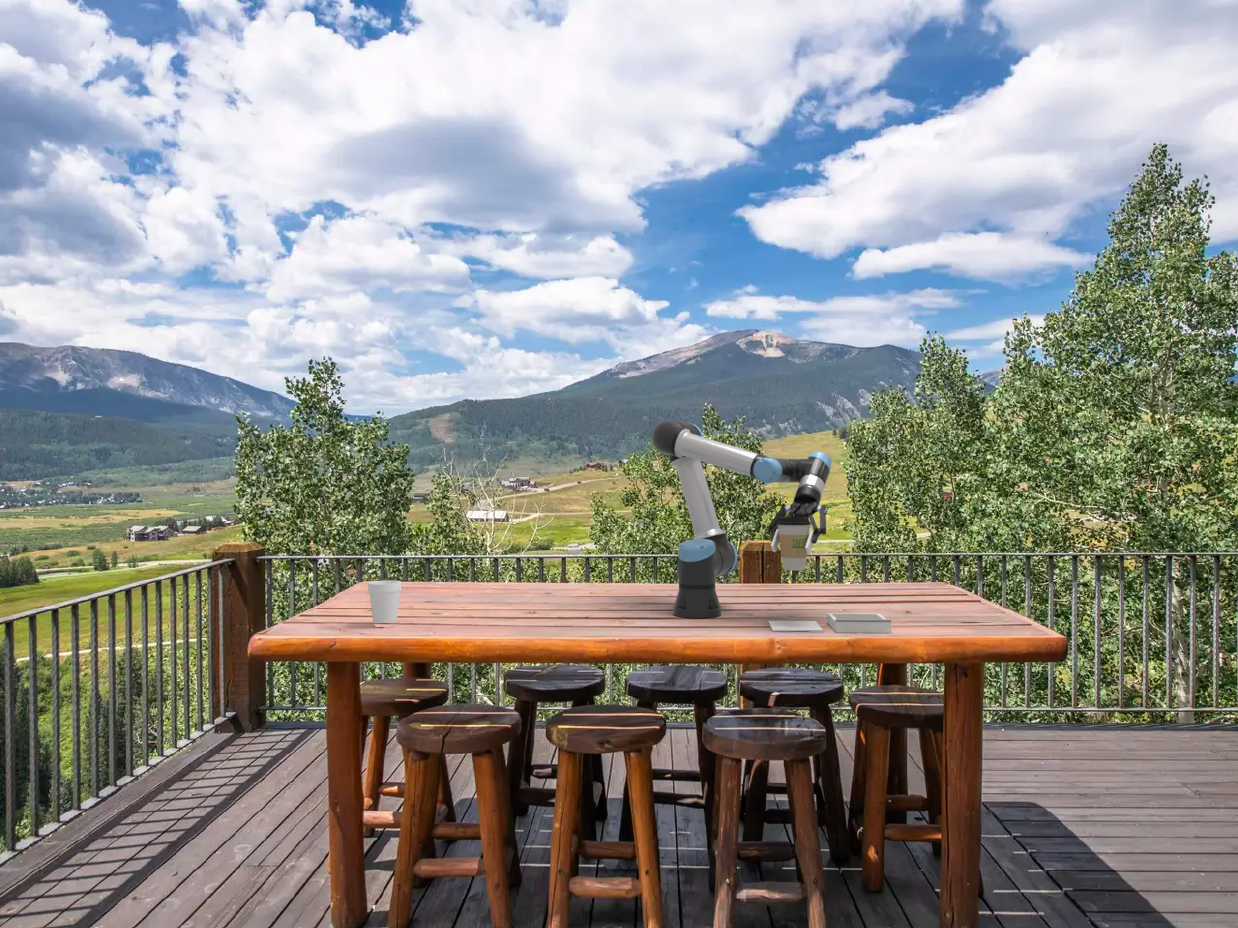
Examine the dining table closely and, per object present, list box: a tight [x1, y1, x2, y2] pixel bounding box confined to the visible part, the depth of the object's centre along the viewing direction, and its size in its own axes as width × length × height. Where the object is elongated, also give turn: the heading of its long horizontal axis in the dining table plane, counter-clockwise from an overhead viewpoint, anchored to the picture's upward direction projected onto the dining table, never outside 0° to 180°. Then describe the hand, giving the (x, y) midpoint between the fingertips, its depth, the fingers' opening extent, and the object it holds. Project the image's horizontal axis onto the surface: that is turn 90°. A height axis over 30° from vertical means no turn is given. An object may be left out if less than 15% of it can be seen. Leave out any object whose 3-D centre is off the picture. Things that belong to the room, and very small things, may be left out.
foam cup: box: [367, 579, 402, 623], centre depth 242 cm, size 10×9×13 cm
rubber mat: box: [767, 620, 824, 633], centre depth 235 cm, size 14×14×1 cm
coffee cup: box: [777, 516, 812, 572], centre depth 235 cm, size 10×10×15 cm
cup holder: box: [826, 612, 892, 634], centre depth 233 cm, size 15×15×4 cm
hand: (790, 549), depth 233 cm, fingers closed on coffee cup, 10 cm apart
